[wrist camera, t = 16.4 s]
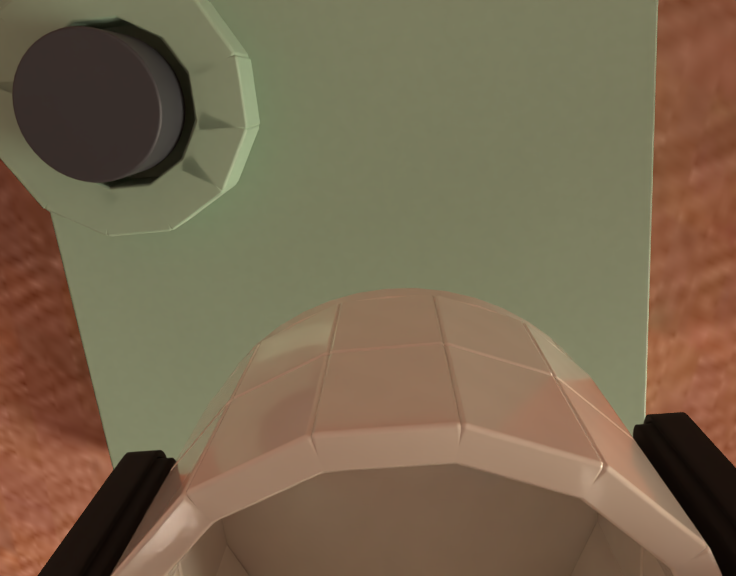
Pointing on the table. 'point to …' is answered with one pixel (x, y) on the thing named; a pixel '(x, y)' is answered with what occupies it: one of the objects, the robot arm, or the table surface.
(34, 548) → the table surface
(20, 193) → the table surface
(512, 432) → the white bowl
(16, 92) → the tare button
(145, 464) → the robot arm
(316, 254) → the scale
